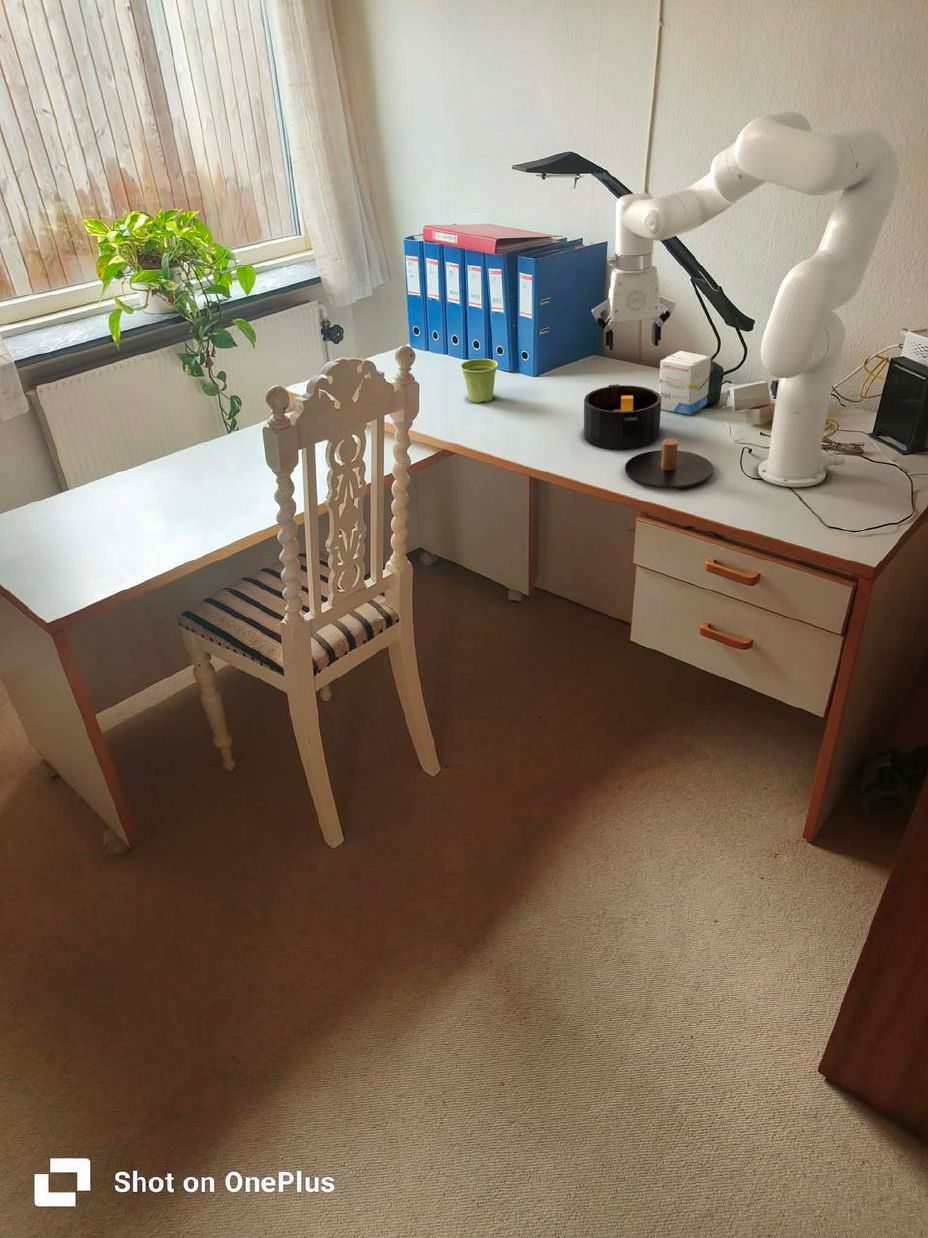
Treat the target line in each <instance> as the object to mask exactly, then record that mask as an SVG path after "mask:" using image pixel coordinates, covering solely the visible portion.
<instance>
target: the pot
mask: <svg viewBox="0 0 928 1238" xmlns="http://www.w3.org/2000/svg"><path fill="white" fill-rule="evenodd" d="M627 395H633V411H624V412H623V411H613V410H619V409H621V396H627ZM661 411H662V409H661V396H660V395H659V392H657V391H655V390H654V389H651V388H648V387H644V386H638V385H626V384H625V385H624V384H623V385H620V384H609V385H608V386H604V387H601V388H600V387H599V388H597V389H595V390H594V389H593V390H591V391H590V392H588V393H587V394H586V395H585V396H584V399H583V437H584V439H585V441H586V442H587V443H588V444H590V445H592V446H593V447H597V448H598V449H599V448H600V449H604V450H611V451H631V450H637V449H642V448H645V447H648V446H651V445H652V444H654V443H655V442H657V440H658V439H659V437H660V429H661Z"/></svg>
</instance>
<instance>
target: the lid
mask: <svg viewBox="0 0 928 1238" xmlns="http://www.w3.org/2000/svg"><path fill="white" fill-rule="evenodd" d="M678 445H679V441H678V440H676V439H674V438H667V439H664V440H662V446H661V449H658V450H657V449H656V450H650V451H646V452H642V453H640V454H636V455H635V456H632V457H631V458H629V460H627V462H626V463H625V465H624V473H625V474H626V476H627V477H628V478H629V479H630V480H631V481H634V482H635V483H637V484H639V485H642V486H645V487H649V488H654V489H663V490H677V489H686V488H691V487H696V486H698V485H701V484H704V483H705V482H706V481H708V480H709V479H711V477H712V476H713V474H714V467H713V464H712V463H711V461H709V460H708V459H707V458H706V457H703V455H702V456H701V455H699V454H696V453H693V452H689V451H686V450H685V451H684V450H679V449H678V448H679V446H678Z"/></svg>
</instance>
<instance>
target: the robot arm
mask: <svg viewBox="0 0 928 1238" xmlns="http://www.w3.org/2000/svg"><path fill="white" fill-rule="evenodd" d="M899 171H900V168H899V160H898V158H897V155H896V151H895V149H894V147H893V145H892V144H891V142H890V141H889V140H888V139H887V137H886V136H885V135H884V134H883V133H881V132H879V131H878V130H876V129H874V128H872V127H866V126H855V127H854V126H853V127H849V128H845V129H841V130H838V131H834V132H831V133H827V134H822V133H821V134H820V133H816V132H813V129H812V127H811V124H810V122H809V120H808V119H807V118H806V117H805V116H804V115H803V114H801V113H799V112H796V111H780V112H776V113H773V114H768V115H764V116H760V117H757V118H755V119H753V120H752V121H750V122H749V123H747V124H746V125H745V126H744V127H743V128H742V130H741V131H740V133H739V134H738V136H737V138H736V141H735V142H733V143H732V144H731V145H730V146H728V147H727V148H725V149H724V150H722V151H721V152H719V153H718V154H717V155H715V156H714V158H713V159H712V161H711V165H710V172H709V173H707V174H706V175H705V176H704V177H702V178H701V179H699V180H697V181H696V182H694V183H692V184H691V185H690V186H688V187H687V188H684V189H683V190H680V191H676V192H671V193H669V194H666V195H662V196H660V197H654V196H653V195H652V194H649V193H629V194H625V195H622V196H620V197H619V198H618V199H617V201H616V203H615V253H614V255H613V256H612V257H609V258H608V260H607V264H608V266H613V267H615V268H613V269H612V271H611V275H610V281H609V290H608V299H606V300H604V301H602V302H601V303H600V304H598V305H597V306H595V307H593V308H592V309H591V314H592V316H593V317H594V319H595V322H596V323H597V324H598V325H599V327H601V328H602V329H603V330H604V346H605V347H607V349H608V351H613V350H614V331H613V329H612V328H613V327H614V326H615V325H616V324H617V323H618V324H619V323H621V324H622V323H632V322H640V321H642V322H643V321H651V320H653V323H652V324H651V343H652V344H653V346H655V347H659V342H660V341H661V340H662V327H663V326H664V324H665V322H666V321H668V319H669V318H670V316H671V313H673V311H674V309H675V307H676V302H674V301H673V300H672V299H670V298H667V297H665V296H662V295H660V280H659V271H658V268H657V267H656V266H655V265H654V245H655V244H654V243H655V242H656V241H657V242H658V241H665V240H668V239H671V238H673V237H676V236H679V235H682V234H685V233H688V232H691V231H693V230H695V229H697V228H699V227H701V226H703V225H704V224H706V223H707V222H709V221H711V220H712V219H714V218H715V217H717V216H719V215H720V214H722V213H723V212H725V211H726V210H728V209H729V208H730V207H731V206H733V205H735V204H736V203H737V202H738V201H739V200H740V199H742V198H743V197H745V196H746V195H748V194H750V193H751V192H753V191H755V190H756V189H758V188H759V187H761V186H762V185H764V184H766V183H769V184H772V185H775V186H779V187H782V188H785V189H788V190H792V191H794V192H798V193H802V194H805V195H810V196H825V195H830V194H833V193H836V192H839V191H841V192H842V193H841V195H840V198H839V201H838V202H837V203H836V205H835V207H834V209H833V211H832V213H831V214H830V217H829V219H828V221H827V224H826V227H825V231H824V233H823V236H822V238H821V241H820V244H819V246H818V247H817V250H816V252H815V253H814V254H813V255H812V256H811V257H808V258H807V259H805V260H802V261H801V262H799V263H798V264H796V265H795V266H793V267H792V268H791V269H790V270H789V272H787V274H786V276H785V277H784V279H783V280H782V282H781V284H780V286H779V289H778V291H777V294H776V296H775V300H774V303H773V306H772V309H771V312H770V315H769V318H768V319H767V320H768V321H767V324H766V326H765V330H764V332H763V334H762V339H761V344H760V359H761V363H762V365H763V367H764V369H765V370H766V371H767V372H768V373H769V374H770V375H771V376H773V377H775V378H778V384H777V390H776V397H775V404H774V410H773V419H772V427H771V433H770V439H769V448H768V456H767V458H766V459H765V460H763V461H761V462H760V463H759V465H758V469H757V473H758V476H760V478H761V479H762V480H764V481H766V482H768V483H769V484H773V485H776V486H780V487H786V488H806V487H813V486H815V485H818V484H820V483H822V482H823V481H824V480H825V479H826V474H827V470H826V468H828V467H829V466H842V465H845V464H846V463H845V462H846V457H845V454H835V455H834V451H824V452H823V451H822V449H823V443H824V436H825V431H826V426H827V425H826V424H827V419H828V414H829V413H828V412H829V407H830V401H831V396H832V390H833V386H834V381H835V376H836V373H837V368H838V365H839V362H840V359H841V356H842V353H843V350H844V345H845V340H846V330H845V324H844V322H843V320H842V319H841V317H840V316H839V314H837V313H836V312H834V310H836V309H837V308H840V307H842V306H844V305H846V304H847V303H849V302H850V301H851V300H852V299H853V298H854V297H855V296H856V294H857V293H858V291H859V289H860V287H861V284H862V282H863V280H864V276H865V274H866V271H867V268H868V266H869V264H870V261H871V259H872V256H873V253H874V251H875V249H876V246H877V243H878V240H879V238H880V234H881V232H882V229H883V227H884V225H885V222H886V220H887V217H888V215H889V213H890V210H891V208H892V205H893V202H894V199H895V196H896V192H897V189H898V185H899V176H900V174H899V173H900V172H899ZM661 305H663V306H665V308H664V310H663V311H662V313H660V309H661V308H660V307H661ZM606 310H607V314H608V317H607V318H606V320H605V319H603V317H602V316H601V313H603V312H604V311H606Z"/></svg>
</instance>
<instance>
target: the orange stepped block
mask: <svg viewBox="0 0 928 1238" xmlns="http://www.w3.org/2000/svg"><path fill="white" fill-rule="evenodd" d="M613 411H623V412H624V411H633V395H627V396H621V409H619V410H613Z"/></svg>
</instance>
